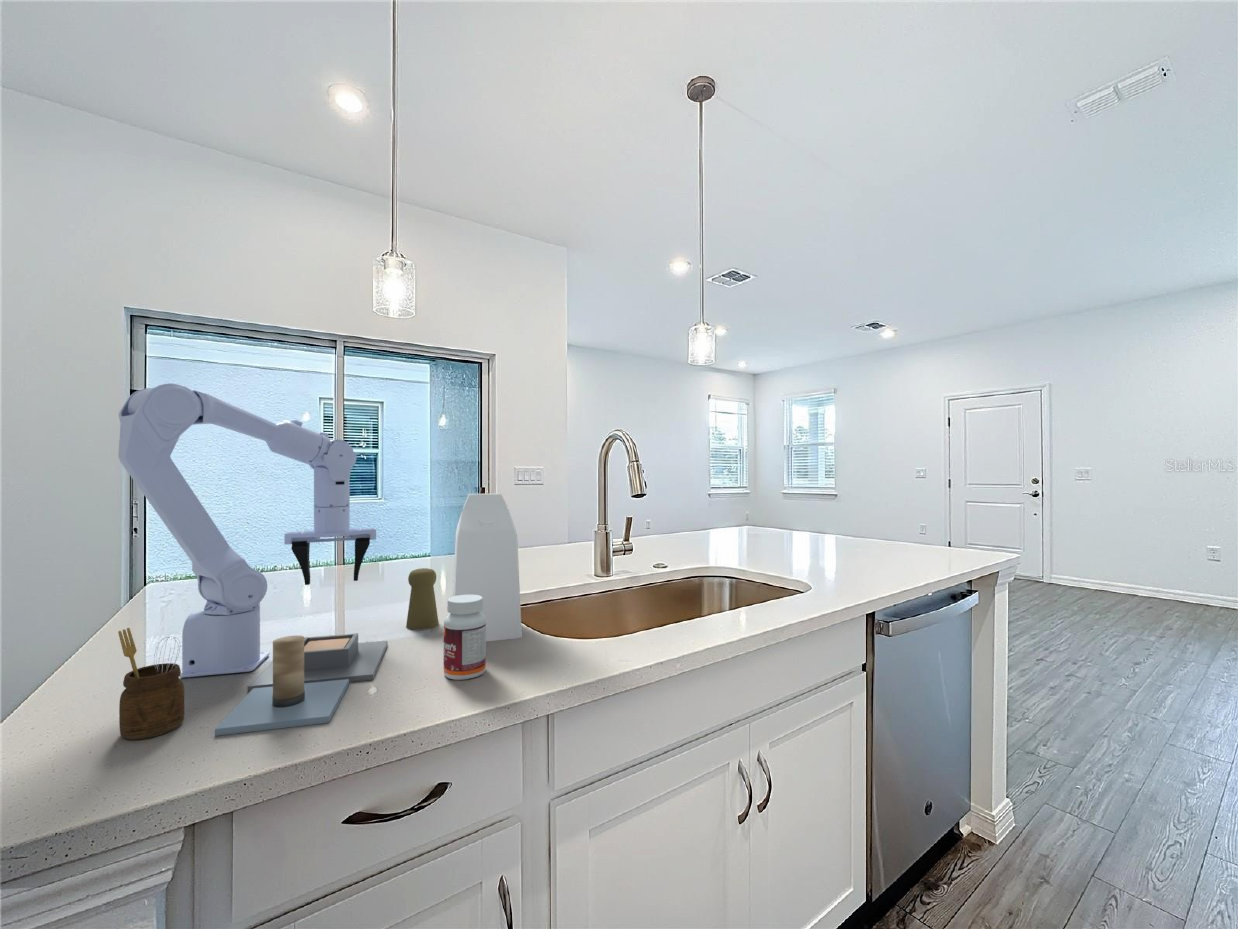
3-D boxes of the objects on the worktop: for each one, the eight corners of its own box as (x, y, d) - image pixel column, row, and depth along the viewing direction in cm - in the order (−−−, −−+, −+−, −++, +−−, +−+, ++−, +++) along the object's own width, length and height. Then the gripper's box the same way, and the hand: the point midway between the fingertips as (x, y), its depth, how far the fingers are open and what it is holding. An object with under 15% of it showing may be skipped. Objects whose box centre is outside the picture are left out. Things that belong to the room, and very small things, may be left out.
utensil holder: (161, 740, 63) (160, 635, 63) (102, 743, 62) (101, 637, 62) (196, 716, 69) (196, 620, 69) (143, 718, 68) (142, 622, 68)
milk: (513, 620, 111) (513, 491, 111) (521, 637, 100) (521, 494, 100) (451, 626, 107) (450, 492, 107) (452, 644, 96) (452, 496, 96)
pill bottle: (436, 672, 83) (436, 598, 83) (473, 662, 87) (473, 591, 87) (455, 684, 79) (455, 605, 79) (493, 673, 83) (493, 598, 83)
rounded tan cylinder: (268, 709, 69) (268, 645, 69) (277, 697, 73) (277, 636, 73) (300, 705, 70) (300, 642, 70) (308, 694, 74) (307, 634, 74)
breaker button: (298, 667, 82) (298, 653, 82) (309, 653, 88) (309, 641, 88) (342, 663, 84) (342, 649, 84) (350, 650, 90) (350, 637, 90)
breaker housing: (247, 692, 76) (247, 666, 76) (284, 653, 92) (284, 632, 92) (372, 679, 80) (372, 655, 80) (387, 645, 96) (387, 624, 96)
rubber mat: (214, 735, 64) (214, 729, 64) (253, 694, 75) (253, 688, 75) (329, 722, 67) (329, 716, 67) (349, 684, 79) (349, 679, 79)
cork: (428, 630, 104) (428, 572, 104) (399, 628, 105) (399, 571, 105) (444, 621, 110) (444, 566, 110) (417, 620, 111) (417, 565, 111)
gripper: (282, 509, 92) (282, 590, 92) (376, 506, 98) (376, 582, 98) (287, 506, 99) (287, 582, 99) (375, 503, 105) (375, 575, 105)
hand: (332, 581), depth 99 cm, fingers open, 7 cm apart
